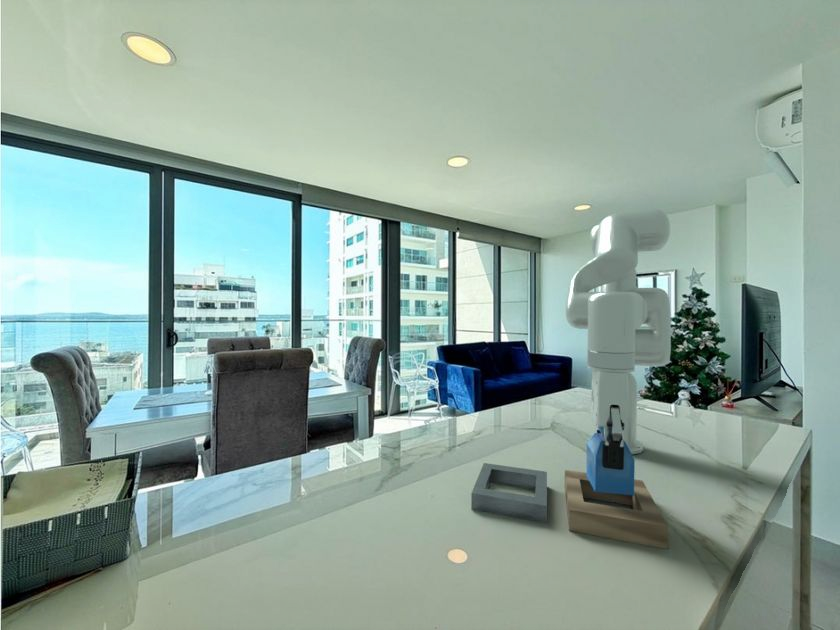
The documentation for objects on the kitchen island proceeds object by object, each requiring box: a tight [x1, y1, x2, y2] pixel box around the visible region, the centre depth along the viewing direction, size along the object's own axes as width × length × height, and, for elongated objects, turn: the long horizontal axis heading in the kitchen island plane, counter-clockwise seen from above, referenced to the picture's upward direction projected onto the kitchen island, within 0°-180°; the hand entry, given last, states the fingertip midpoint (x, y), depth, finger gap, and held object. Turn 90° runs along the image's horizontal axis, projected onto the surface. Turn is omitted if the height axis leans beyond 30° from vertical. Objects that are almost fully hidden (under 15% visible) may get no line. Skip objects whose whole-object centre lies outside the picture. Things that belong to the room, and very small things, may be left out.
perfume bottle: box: [586, 423, 636, 495], centre depth 66 cm, size 6×6×12 cm
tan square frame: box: [564, 469, 669, 550], centre depth 66 cm, size 16×14×4 cm
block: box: [470, 462, 548, 524], centre depth 72 cm, size 14×13×3 cm
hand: (609, 458), depth 66 cm, fingers closed on perfume bottle, 6 cm apart
